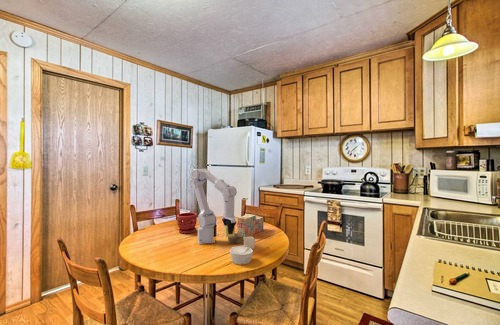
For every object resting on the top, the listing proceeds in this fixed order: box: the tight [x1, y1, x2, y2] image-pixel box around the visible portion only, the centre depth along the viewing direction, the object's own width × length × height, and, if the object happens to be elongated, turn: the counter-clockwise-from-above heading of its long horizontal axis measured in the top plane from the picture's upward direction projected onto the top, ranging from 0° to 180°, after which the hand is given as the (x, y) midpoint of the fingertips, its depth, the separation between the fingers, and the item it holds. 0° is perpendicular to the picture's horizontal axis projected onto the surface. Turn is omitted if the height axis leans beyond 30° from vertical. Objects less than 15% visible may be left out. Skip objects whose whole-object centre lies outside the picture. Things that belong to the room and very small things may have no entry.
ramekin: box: [229, 245, 254, 265], centre depth 120 cm, size 11×11×5 cm
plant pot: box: [176, 212, 198, 234], centre depth 166 cm, size 13×13×12 cm
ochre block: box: [222, 224, 236, 238], centre depth 137 cm, size 5×5×5 cm
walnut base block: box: [227, 232, 244, 245], centre depth 148 cm, size 8×8×4 cm
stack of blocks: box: [236, 213, 264, 238], centre depth 165 cm, size 21×6×12 cm, turn 144°
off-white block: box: [243, 235, 256, 249], centre depth 139 cm, size 5×5×5 cm
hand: (228, 232), depth 137 cm, fingers closed on ochre block, 5 cm apart
